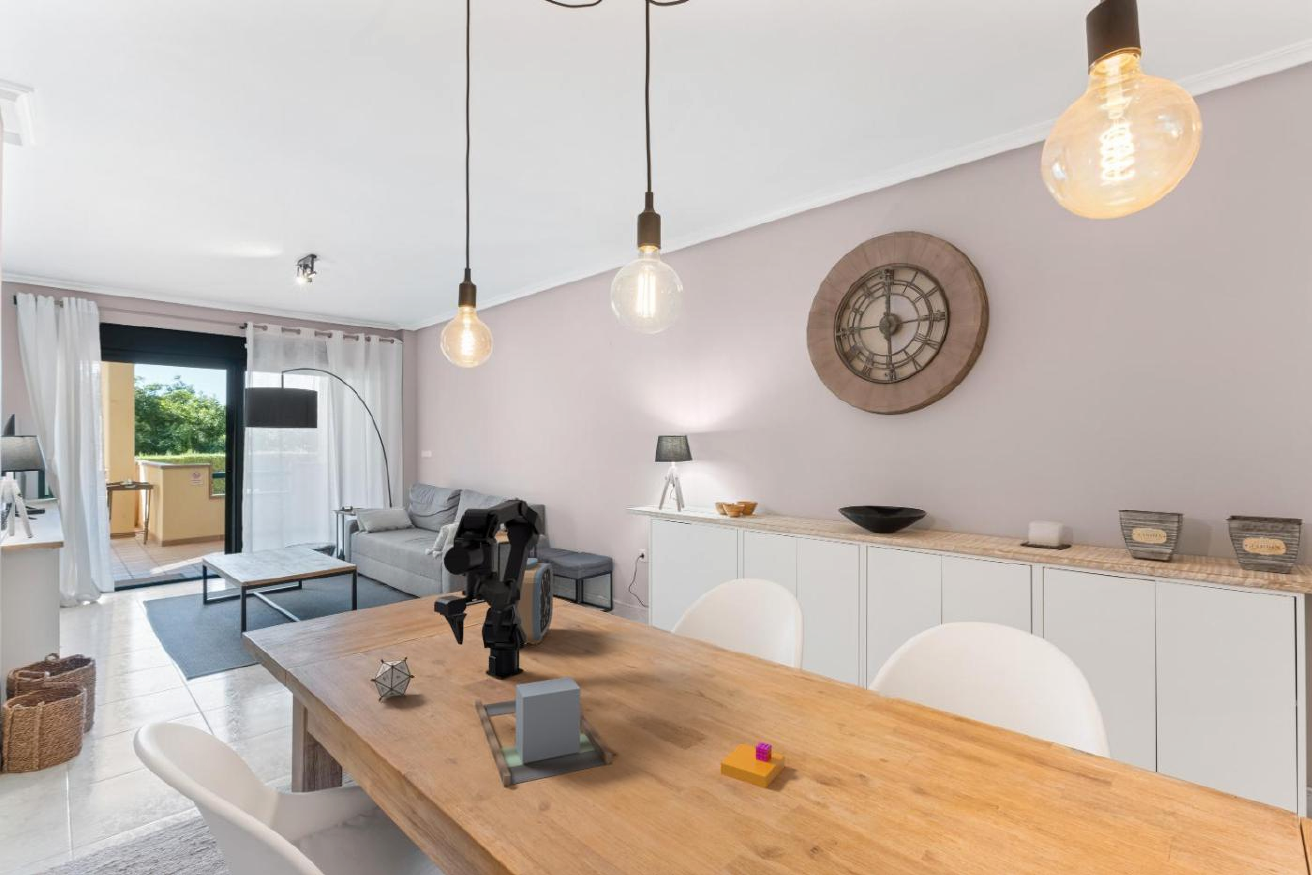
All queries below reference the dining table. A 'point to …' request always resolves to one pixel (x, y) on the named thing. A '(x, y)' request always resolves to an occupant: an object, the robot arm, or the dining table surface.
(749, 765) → the flat orange slab
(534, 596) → the alarm clock
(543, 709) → the slate block
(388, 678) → the game die
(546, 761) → the channel
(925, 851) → the dining table surface
